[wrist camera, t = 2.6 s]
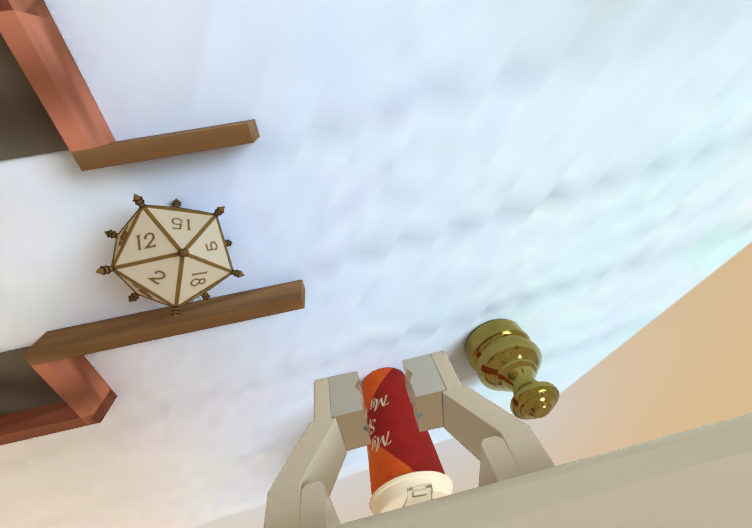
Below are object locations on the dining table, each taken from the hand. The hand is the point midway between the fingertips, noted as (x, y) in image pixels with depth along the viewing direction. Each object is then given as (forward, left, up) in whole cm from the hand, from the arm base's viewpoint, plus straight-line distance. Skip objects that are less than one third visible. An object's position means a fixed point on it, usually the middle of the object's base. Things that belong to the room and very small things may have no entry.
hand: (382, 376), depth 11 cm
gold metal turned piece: (+21, +15, -19) cm, 32 cm away
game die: (0, -13, -19) cm, 23 cm away
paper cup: (+24, +1, -19) cm, 30 cm away
